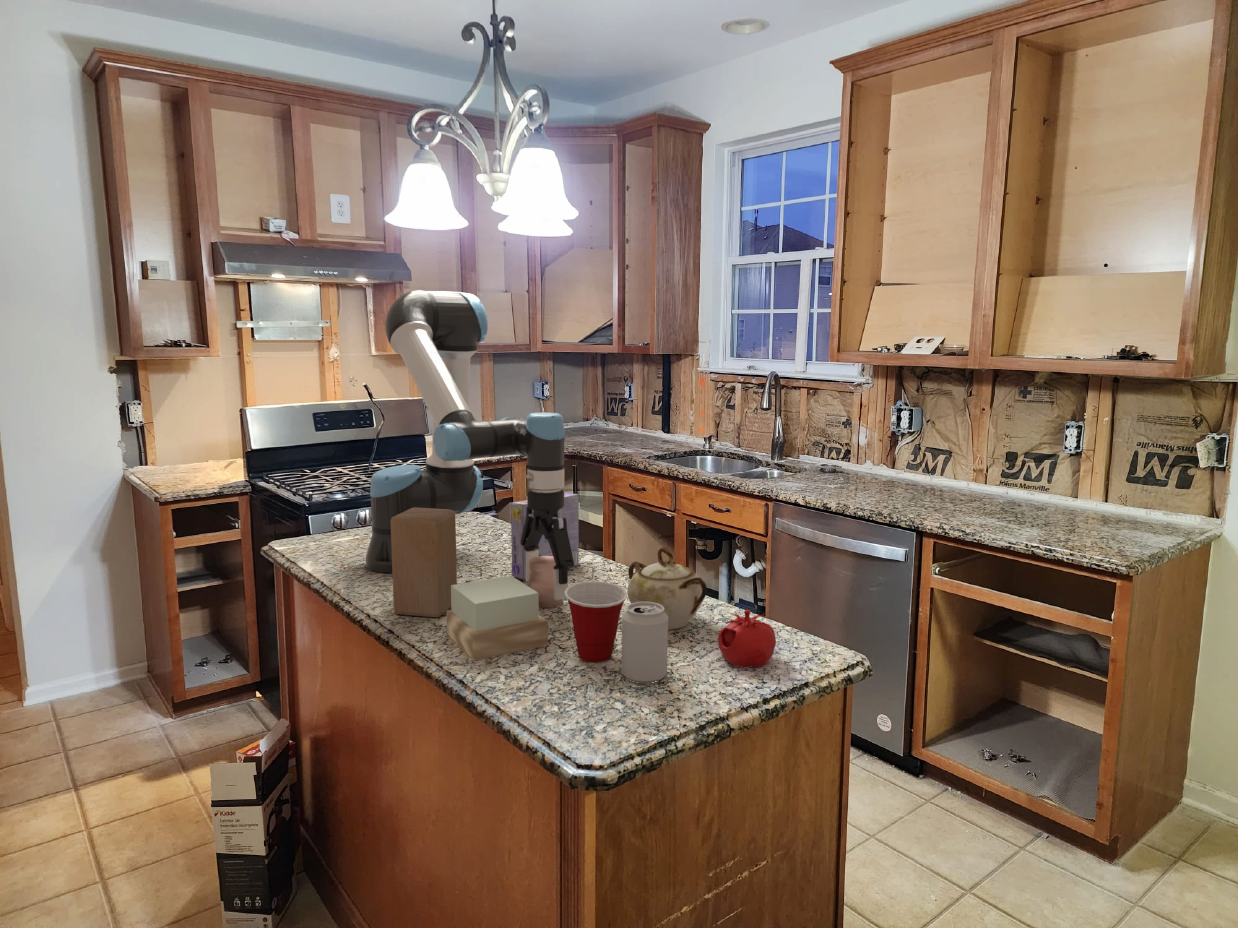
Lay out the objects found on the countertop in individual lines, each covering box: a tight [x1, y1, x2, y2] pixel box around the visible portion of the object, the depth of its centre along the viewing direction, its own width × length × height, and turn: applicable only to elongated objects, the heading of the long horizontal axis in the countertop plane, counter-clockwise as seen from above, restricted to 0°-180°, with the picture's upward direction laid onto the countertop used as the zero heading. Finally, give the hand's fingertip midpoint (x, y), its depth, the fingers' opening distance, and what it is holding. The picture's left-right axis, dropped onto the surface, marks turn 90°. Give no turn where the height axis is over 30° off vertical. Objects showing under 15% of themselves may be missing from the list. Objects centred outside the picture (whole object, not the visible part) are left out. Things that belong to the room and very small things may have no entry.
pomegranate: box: [717, 609, 777, 668], centre depth 139 cm, size 10×10×9 cm
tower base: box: [446, 609, 549, 661], centre depth 147 cm, size 14×14×5 cm
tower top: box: [450, 575, 540, 632], centre depth 147 cm, size 12×12×5 cm
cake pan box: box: [510, 493, 580, 582], centre depth 189 cm, size 19×5×18 cm, turn 139°
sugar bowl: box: [626, 547, 708, 631], centre depth 156 cm, size 20×15×15 cm
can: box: [621, 602, 669, 684], centre depth 131 cm, size 8×8×12 cm
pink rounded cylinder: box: [528, 556, 564, 609], centre depth 167 cm, size 7×7×9 cm
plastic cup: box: [565, 580, 628, 664], centre depth 139 cm, size 11×11×12 cm
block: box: [391, 507, 458, 618], centre depth 162 cm, size 10×10×20 cm
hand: (546, 589), depth 168 cm, fingers open, 13 cm apart
